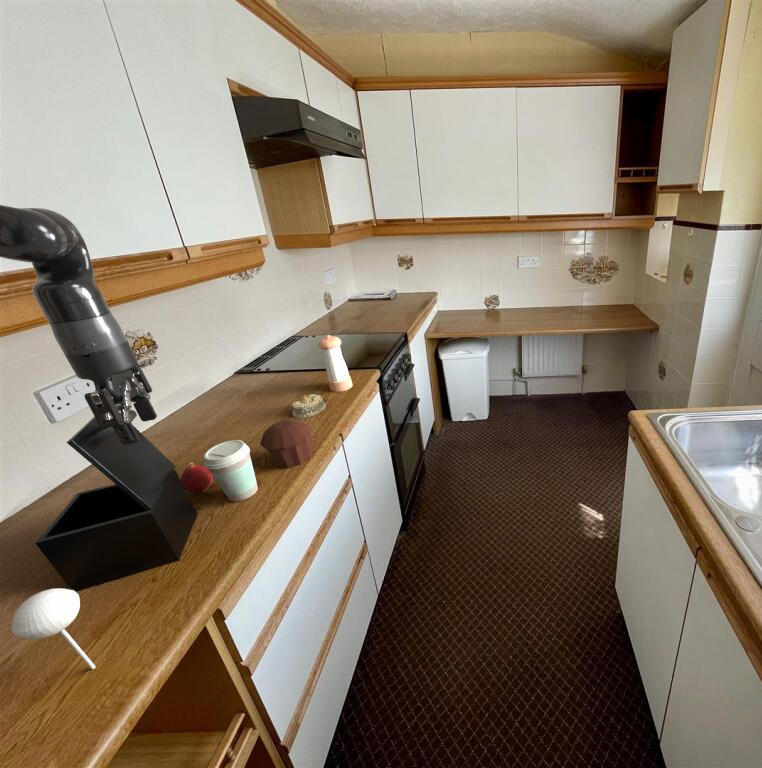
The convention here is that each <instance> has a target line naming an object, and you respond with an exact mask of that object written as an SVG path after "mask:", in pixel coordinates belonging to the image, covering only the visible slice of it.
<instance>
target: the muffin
mask: <svg viewBox="0 0 762 768" xmlns="http://www.w3.org/2000/svg"><path fill="white" fill-rule="evenodd" d="M261 436H262V437H261V440H260V443H259V445H260V446H261V447H262V448H263V449H265V450H266V451H267V453H268V454H269V456H270V457H271V459H272V460H273V462H274V463H275V464H276V465H277V467H278V468H286V469H290V468H293V467H296V466H300V465H303V463H305V462H306V461H308V460H311V457H312V455H313V453H314V449H313V440H312V427H311V426H309V425H308V424H306V423H305V422H303V421H301V420H298V419H297V420H295V419H284V420H280V421H277V422H276V423H274V424H272V425H270V426H269V427H268V428H267V429H266V430H265V431H263V433H262V435H261Z"/></svg>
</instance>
